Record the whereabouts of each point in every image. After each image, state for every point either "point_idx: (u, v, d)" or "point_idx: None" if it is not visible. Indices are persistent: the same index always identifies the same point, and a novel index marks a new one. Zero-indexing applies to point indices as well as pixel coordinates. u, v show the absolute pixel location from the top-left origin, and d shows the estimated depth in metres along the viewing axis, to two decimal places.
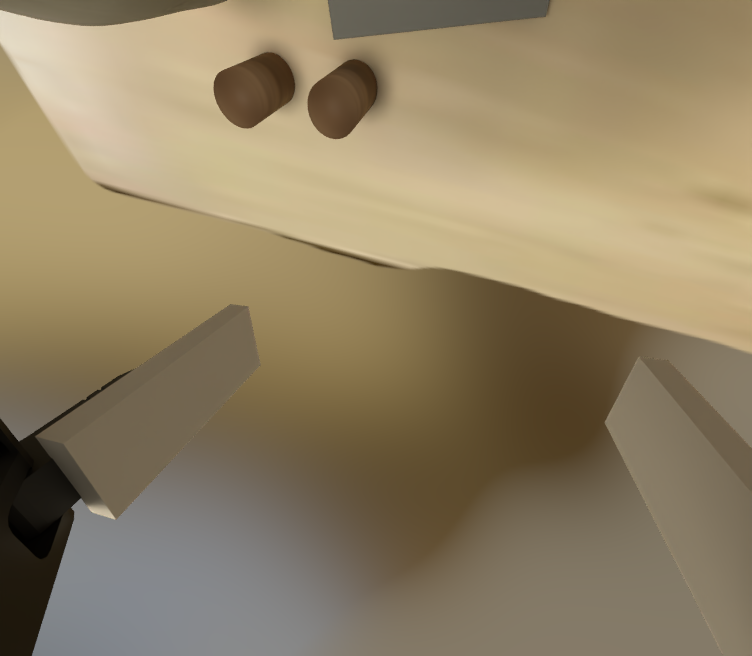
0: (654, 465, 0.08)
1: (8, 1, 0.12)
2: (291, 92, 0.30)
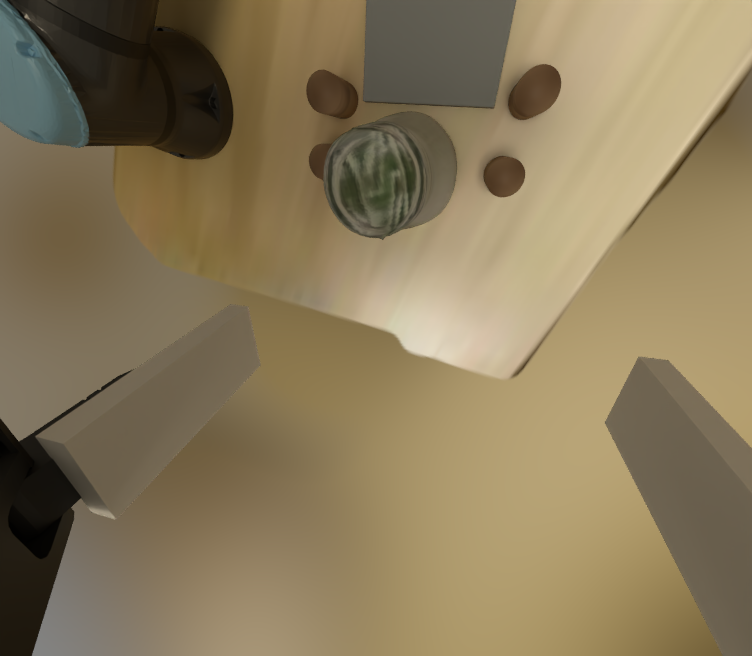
0: (654, 464, 0.08)
1: (440, 174, 0.25)
2: None
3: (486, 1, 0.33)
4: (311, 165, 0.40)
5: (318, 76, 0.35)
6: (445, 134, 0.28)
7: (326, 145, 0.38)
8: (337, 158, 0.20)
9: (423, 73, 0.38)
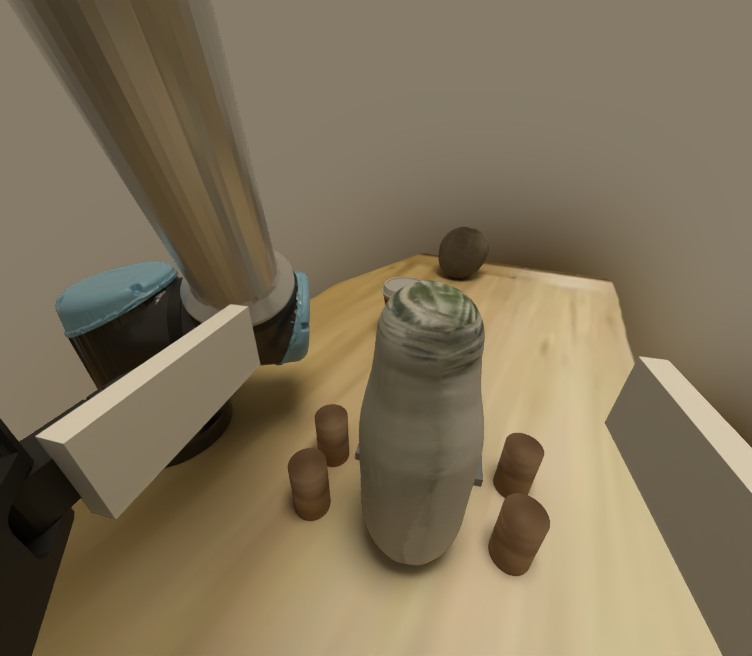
0: (654, 465, 0.08)
1: None
2: None
3: None
4: (290, 464, 0.33)
5: (331, 407, 0.41)
6: None
7: (317, 450, 0.35)
8: (408, 284, 0.23)
9: None
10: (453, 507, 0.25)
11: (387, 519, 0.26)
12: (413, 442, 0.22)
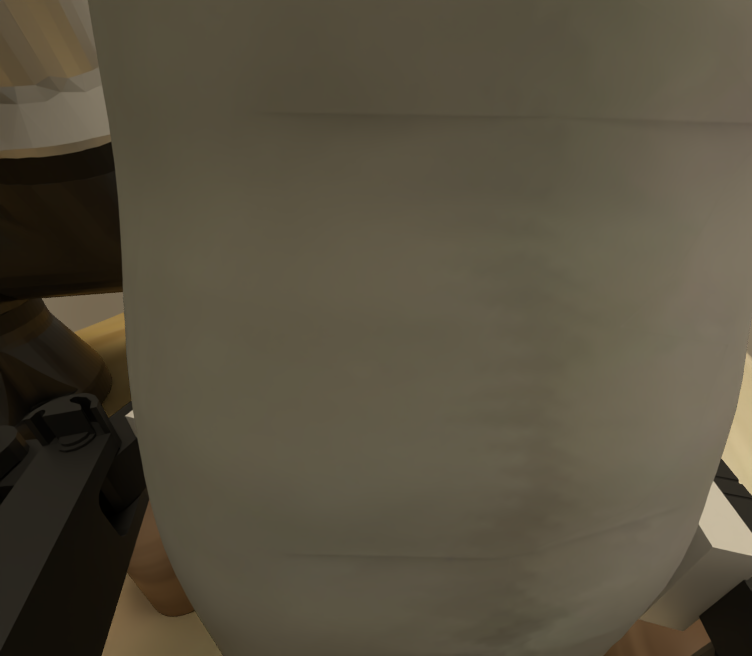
0: None
1: None
2: None
3: None
4: None
5: None
6: None
7: None
8: None
9: None
10: None
11: None
12: (325, 435, 0.03)
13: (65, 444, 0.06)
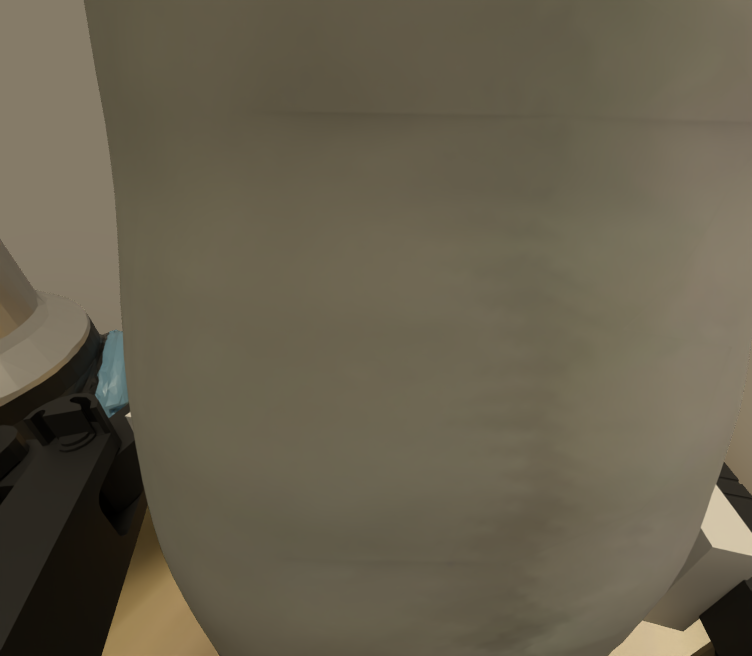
0: None
1: None
2: None
3: None
4: None
5: None
6: None
7: None
8: None
9: None
10: None
11: None
12: (323, 440, 0.03)
13: (65, 444, 0.06)
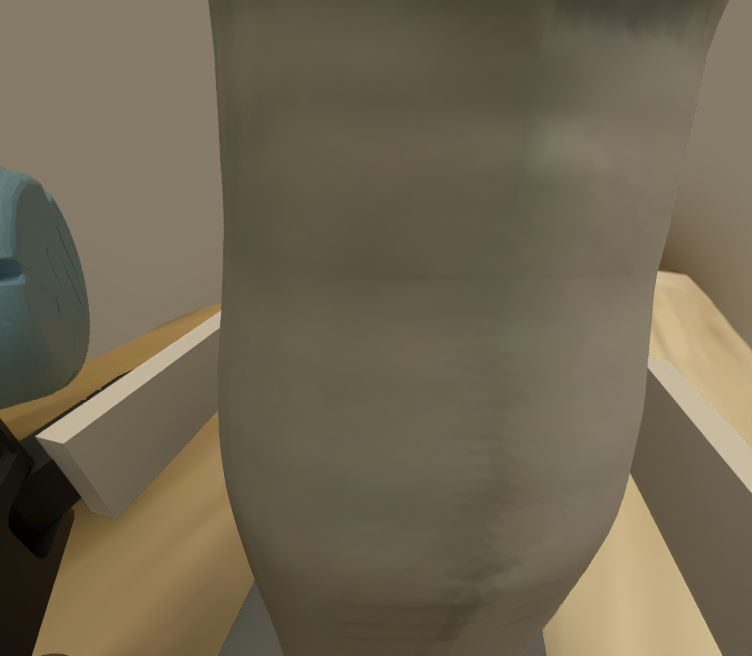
0: (654, 464, 0.08)
1: None
2: None
3: None
4: None
5: None
6: None
7: None
8: None
9: None
10: (514, 655, 0.08)
11: None
12: (370, 444, 0.04)
13: None
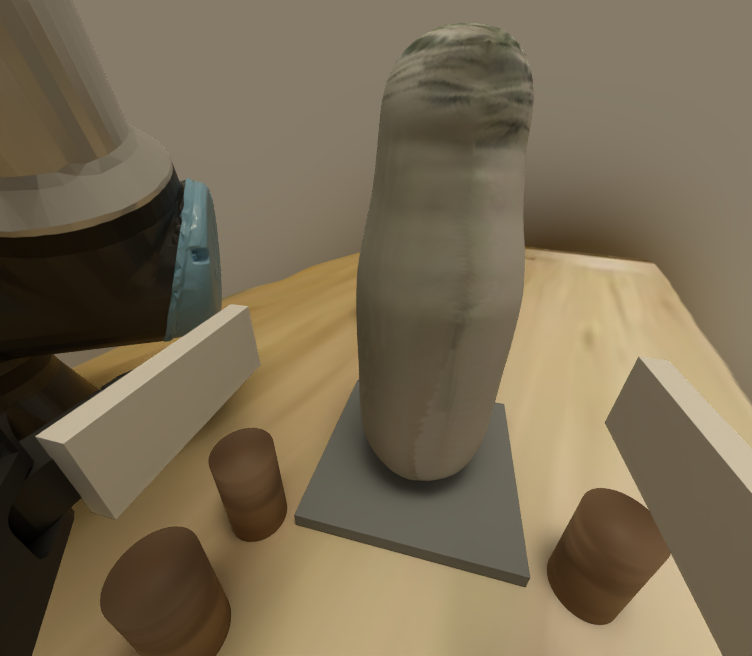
0: (654, 464, 0.08)
1: None
2: None
3: None
4: (115, 571, 0.15)
5: (247, 433, 0.22)
6: None
7: (188, 532, 0.17)
8: None
9: (400, 500, 0.24)
10: (482, 381, 0.19)
11: (394, 402, 0.20)
12: (432, 258, 0.15)
13: None
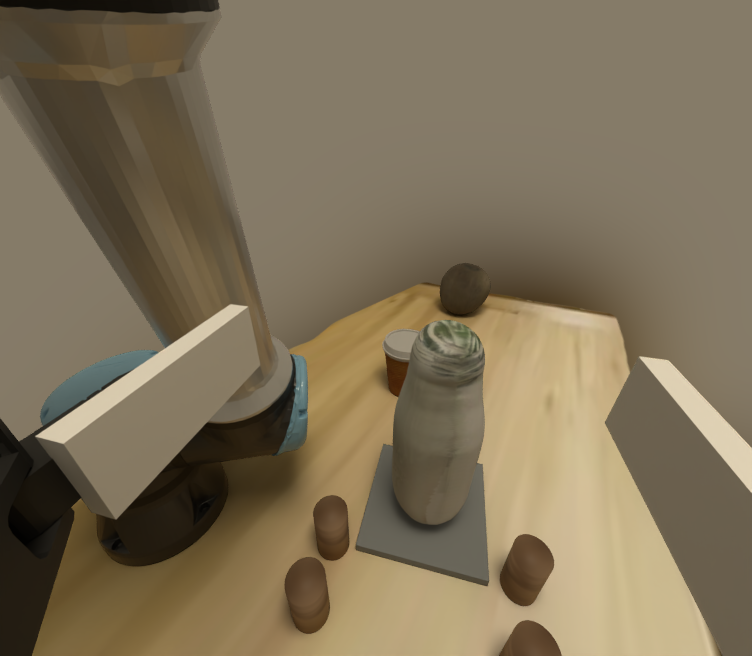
0: (654, 465, 0.08)
1: None
2: None
3: None
4: (287, 580, 0.32)
5: (330, 499, 0.39)
6: None
7: (315, 560, 0.33)
8: (432, 322, 0.33)
9: (416, 535, 0.41)
10: (463, 478, 0.36)
11: (415, 487, 0.36)
12: (436, 431, 0.32)
13: None
